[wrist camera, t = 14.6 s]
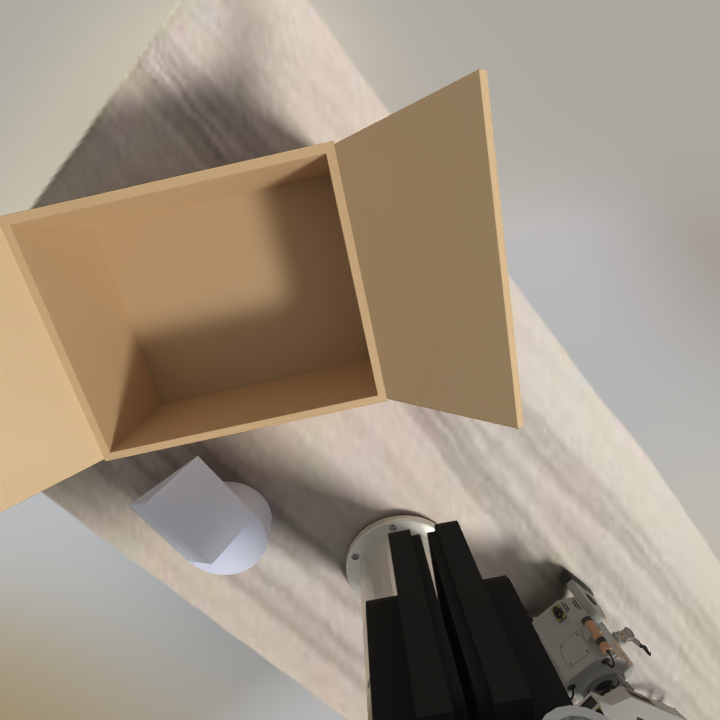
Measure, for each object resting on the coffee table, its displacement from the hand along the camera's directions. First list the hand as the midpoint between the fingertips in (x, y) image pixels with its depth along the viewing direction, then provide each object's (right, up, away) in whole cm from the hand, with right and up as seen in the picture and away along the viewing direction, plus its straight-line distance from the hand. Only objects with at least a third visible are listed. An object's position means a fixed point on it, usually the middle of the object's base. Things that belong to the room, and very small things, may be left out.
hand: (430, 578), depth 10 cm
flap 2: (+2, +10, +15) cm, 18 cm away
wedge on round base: (-17, -11, +35) cm, 40 cm away
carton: (-13, +11, +28) cm, 33 cm away
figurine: (+23, -25, +41) cm, 53 cm away
